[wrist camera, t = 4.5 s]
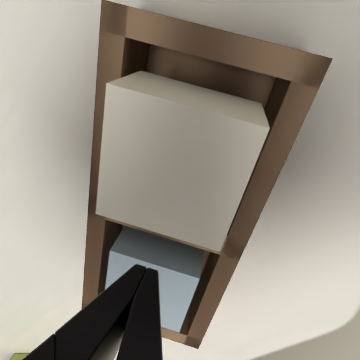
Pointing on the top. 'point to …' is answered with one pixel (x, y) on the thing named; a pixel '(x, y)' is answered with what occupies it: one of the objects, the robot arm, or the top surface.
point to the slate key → (159, 269)
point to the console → (218, 81)
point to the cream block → (176, 156)
